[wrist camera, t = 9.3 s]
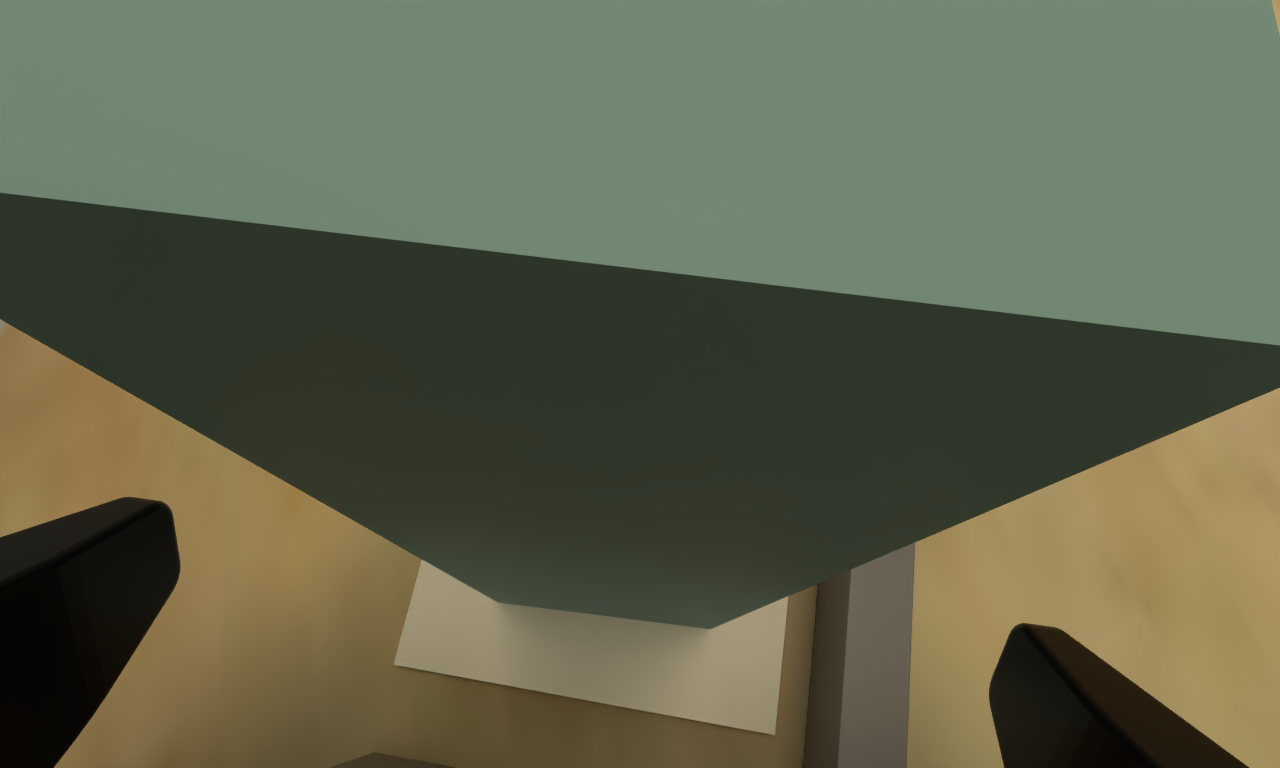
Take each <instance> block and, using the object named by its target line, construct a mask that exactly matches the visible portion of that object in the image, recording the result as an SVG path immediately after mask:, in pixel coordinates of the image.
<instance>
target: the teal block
mask: <svg viewBox="0 0 1280 768" xmlns="http://www.w3.org/2000/svg"><path fill="white" fill-rule="evenodd" d="M0 319H1V320H3V321H4V322H6V323H8V324H10V325H11V326H13V327H15V328H17V329H18V330H20V331H22V332H24V333H25V334H27V335H29V336H31V337H33V338H34V339H36V340H38V341H40V342H41V343H43V344H45V345H47V346H48V347H50V348H52V349H54V350H55V351H57V352H59V353H61V354H62V355H64V356H66V357H68V358H69V359H71V360H73V361H75V362H76V363H78V364H80V365H82V366H83V367H85V368H87V369H89V370H90V371H92V372H94V373H96V374H97V375H99V376H101V377H103V378H104V379H106V380H108V381H110V382H111V383H113V384H115V385H117V386H119V387H120V388H122V389H124V390H126V391H127V392H129V393H131V394H133V395H134V396H136V397H138V398H140V399H141V400H143V401H145V402H147V403H148V404H150V405H152V406H154V407H155V408H157V409H159V410H161V411H162V412H164V413H166V414H168V415H169V416H171V417H173V418H175V419H176V420H178V421H180V422H182V423H183V424H185V425H187V426H189V427H190V428H192V429H194V430H196V431H197V432H199V433H201V434H203V435H204V436H206V437H208V438H210V439H212V440H213V441H215V442H217V443H219V444H220V445H222V446H224V447H226V448H227V449H229V450H231V451H233V452H234V453H236V454H238V455H240V456H241V457H243V458H245V459H247V460H248V461H250V462H252V463H254V464H255V465H257V466H259V467H261V468H262V469H264V470H266V471H268V472H269V473H271V474H273V475H275V476H276V477H278V478H280V479H282V480H283V481H285V482H287V483H289V484H290V485H292V486H294V487H296V488H298V489H299V490H301V491H303V492H305V493H306V494H308V495H310V496H312V497H313V498H315V499H317V500H319V501H320V502H322V503H324V504H326V505H327V506H329V507H331V508H333V509H334V510H336V511H338V512H340V513H341V514H343V515H345V516H347V517H348V518H350V519H352V520H354V521H355V522H357V523H359V524H361V525H362V526H364V527H366V528H368V529H369V530H371V531H373V532H375V533H376V534H378V535H380V536H382V537H384V538H385V539H387V540H389V541H391V542H392V543H394V544H396V545H398V546H399V547H401V548H403V549H405V550H406V551H408V552H410V553H412V554H413V555H415V556H417V557H419V558H420V559H422V560H424V561H426V562H427V563H429V564H431V565H433V566H434V567H436V568H438V569H440V570H441V571H443V572H445V573H447V574H448V575H450V576H452V577H454V578H455V579H457V580H459V581H461V582H462V583H464V584H466V585H468V586H470V587H471V588H473V589H475V590H477V591H478V592H480V593H482V594H484V595H485V596H487V597H489V598H491V599H492V600H494V601H496V602H498V603H506V604H514V605H522V606H530V607H538V608H546V609H554V610H562V611H570V612H578V613H586V614H594V615H602V616H610V617H618V618H626V619H634V620H642V621H649V622H657V623H665V624H673V625H681V626H689V627H697V628H705V629H712V628H714V627H717V626H719V625H722V624H724V623H726V622H729V621H731V620H733V619H736V618H738V617H740V616H743V615H745V614H747V613H750V612H752V611H755V610H757V609H759V608H762V607H764V606H766V605H769V604H771V603H773V602H776V601H778V600H780V599H783V598H785V597H787V596H790V595H792V594H795V593H797V592H799V591H802V590H804V589H806V588H809V587H811V586H813V585H816V584H818V583H820V582H823V581H825V580H828V579H830V578H832V577H835V576H837V575H839V574H842V573H844V572H846V571H849V570H851V569H853V568H856V567H858V566H860V565H863V564H865V563H868V562H870V561H872V560H875V559H877V558H879V557H882V556H884V555H886V554H889V553H891V552H893V551H896V550H898V549H901V548H903V547H905V546H908V545H910V544H912V543H915V542H917V541H919V540H922V539H924V538H926V537H929V536H931V535H933V534H936V533H938V532H941V531H943V530H945V529H948V528H950V527H952V526H955V525H957V524H959V523H962V522H964V521H966V520H969V519H971V518H974V517H976V516H978V515H981V514H983V513H985V512H988V511H990V510H992V509H995V508H997V507H999V506H1002V505H1004V504H1006V503H1009V502H1011V501H1014V500H1016V499H1018V498H1021V497H1023V496H1025V495H1028V494H1030V493H1032V492H1035V491H1037V490H1039V489H1042V488H1044V487H1047V486H1049V485H1051V484H1054V483H1056V482H1058V481H1061V480H1063V479H1065V478H1068V477H1070V476H1072V475H1075V474H1077V473H1079V472H1082V471H1084V470H1087V469H1089V468H1091V467H1094V466H1096V465H1098V464H1101V463H1103V462H1105V461H1108V460H1110V459H1112V458H1115V457H1117V456H1120V455H1122V454H1124V453H1127V452H1129V451H1131V450H1134V449H1136V448H1138V447H1141V446H1143V445H1145V444H1148V443H1150V442H1152V441H1155V440H1157V439H1160V438H1162V437H1164V436H1167V435H1169V434H1171V433H1174V432H1176V431H1178V430H1181V429H1183V428H1185V427H1188V426H1190V425H1193V424H1195V423H1197V422H1200V421H1202V420H1204V419H1207V418H1209V417H1211V416H1214V415H1216V414H1218V413H1221V412H1223V411H1225V410H1228V409H1230V408H1233V407H1235V406H1237V405H1240V404H1242V403H1244V402H1247V401H1249V400H1251V399H1254V398H1256V397H1258V396H1261V395H1263V394H1266V393H1268V392H1270V391H1273V390H1275V389H1277V388H1280V35H1279V31H1278V27H1277V23H1276V19H1275V15H1274V11H1273V6H1272V2H1271V0H0Z"/></svg>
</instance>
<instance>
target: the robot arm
mask: <svg viewBox="0 0 1280 768" xmlns="http://www.w3.org/2000/svg"><path fill="white" fill-rule="evenodd" d="M179 574H180V558H179V551H178V545H177V538H176V532H175V526H174V519H173V514H172V511H171V509H170V508H169V506H168V505H167V504H165V503H164V502H161V501H156V500H149V499H142V498H135V497H124V498H120V499H116V500H113V501H110V502H107V503H104V504H101V505H98V506H95V507H92V508H89V509H86V510H83V511H80V512H77V513H74V514H71V515H67V516H64V517H61V518H58V519H55V520H52V521H49V522H46V523H43V524H40V525H37V526H34V527H31V528H28V529H25V530H22V531H19V532H15V533H12V534H9V535H6V536H3V537H0V768H54V767H55V765H56V764H57V763H58V761H59V760H60V759H61V758H62V756H63V755H64V754H65V752H66V751H67V750H68V748H69V747H70V746H71V745H72V743H73V742H74V741H75V739H76V738H77V737H78V735H79V734H80V733H81V731H82V730H83V729H84V727H85V726H86V725H87V723H88V722H89V720H90V719H91V718H92V716H93V715H94V713H95V712H96V710H97V709H98V707H99V706H100V704H101V703H102V702H103V700H104V699H105V697H106V696H107V694H108V693H109V691H110V689H111V688H112V686H113V685H114V683H115V682H116V680H117V678H118V677H119V675H120V674H121V672H122V670H123V669H124V667H125V666H126V664H127V663H128V661H129V659H130V658H131V656H132V655H133V653H134V652H135V650H136V648H137V647H138V645H139V644H140V642H141V640H142V639H143V637H144V636H145V634H146V633H147V631H148V629H149V628H150V626H151V625H152V623H153V622H154V620H155V618H156V617H157V615H158V614H159V612H160V610H161V609H162V607H163V606H164V604H165V603H166V601H167V599H168V598H169V596H170V595H171V593H172V592H173V590H174V588H175V586H176V584H177V581H178V578H179ZM989 702H990V708H991V712H992V716H993V721H994V725H995V729H996V734H997V738H998V742H999V746H1000V751H1001V755H1002V759H1003V764H1004V768H1249V767H1248V766H1246V765H1245V764H1244V763H1242V762H1241V761H1239V760H1238V759H1237V758H1235V757H1234V756H1233V755H1231V754H1230V753H1229V752H1227V751H1226V750H1225V749H1223V748H1222V747H1220V746H1219V745H1218V744H1216V743H1215V742H1214V741H1212V740H1211V739H1210V738H1208V737H1207V736H1205V735H1204V734H1203V733H1201V732H1200V731H1199V730H1197V729H1196V728H1195V727H1193V726H1192V725H1191V724H1189V723H1188V722H1186V721H1185V720H1184V719H1182V718H1181V717H1180V716H1178V715H1177V714H1176V713H1174V712H1173V711H1172V710H1170V709H1169V708H1167V707H1166V706H1165V705H1163V704H1162V703H1161V702H1159V701H1158V700H1157V699H1155V698H1154V697H1152V696H1151V695H1150V694H1148V693H1147V692H1146V691H1144V690H1143V689H1142V688H1140V687H1139V686H1138V685H1136V684H1135V683H1133V682H1132V681H1131V680H1129V679H1128V678H1127V677H1125V676H1124V675H1123V674H1121V673H1120V672H1118V671H1117V670H1116V669H1114V668H1113V667H1112V666H1110V665H1109V664H1108V663H1106V662H1105V661H1104V660H1102V659H1101V658H1099V657H1098V656H1097V655H1095V654H1094V653H1093V652H1091V651H1090V650H1089V649H1087V648H1086V647H1085V646H1083V645H1082V644H1080V643H1079V642H1078V641H1076V640H1075V639H1074V638H1072V637H1071V636H1070V635H1068V634H1067V633H1065V632H1064V631H1062V630H1061V629H1058V628H1055V627H1049V626H1042V625H1035V624H1028V623H1021V624H1018V625H1016V626H1015V627H1014V628H1013V629H1012V630H1011V632H1010V634H1009V636H1008V639H1007V641H1006V644H1005V646H1004V649H1003V651H1002V654H1001V656H1000V659H999V661H998V664H997V666H996V669H995V671H994V674H993V676H992V679H991V682H990V688H989Z"/></svg>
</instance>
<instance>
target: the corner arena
mask: <svg viewBox="0 0 1280 768" xmlns="http://www.w3.org/2000/svg"><path fill="white" fill-rule="evenodd" d="M914 558H915V543H912V544H910V545H908V546H905V547H903V548H901V549H898V550H896V551H893V552H891V553H889V554H886V555H884V556H882V557H879V558H877V559H875V560H872V561H870V562H868V563H865V564H863V565H860V566H858V567H856V568H853V569H851V570H849V571H846V572H844V573H842V574H839V575H837V576H835V577H832V578H830V579H828V580H825V581H823V582H820V583H818V595H817V607H816V619H815V631H814V643H813V655H812V667H811V679H810V691H809V703H808V715H807V727H806V739H805V751H804V763H803V768H906V762H907V736H908V711H909V685H910V660H911V634H912V609H913V583H914ZM787 605H788V596H787V597H785V598H783V599H780V600H778V601H776V602H773V603H771V604H769V605H766V606H764V607H762V608H759V609H757V610H755V611H752V612H750V613H747V614H745V615H743V616H740V617H738V618H736V619H733V620H731V621H729V622H726V623H724V624H722V625H719V626H717V627H714V628H712V629H705V628H697V627H689V626H681V625H673V624H665V623H657V622H649V621H642V620H634V619H626V618H618V617H610V616H602V615H594V614H586V613H578V612H570V611H562V610H554V609H546V608H538V607H530V606H522V605H514V604H506V603H498V602H496V601H494V600H492V599H491V598H489V597H487V596H485V595H484V594H482V593H480V592H478V591H477V590H475V589H473V588H471V587H470V586H468V585H466V584H464V583H462V582H461V581H459V580H457V579H455V578H454V577H452V576H450V575H448V574H447V573H445V572H443V571H441V570H440V569H438V568H436V567H434V566H433V565H431V564H429V563H427V562H426V561H424V560H422V561H421V565H420V568H419V572H418V576H417V579H416V583H415V587H414V590H413V594H412V598H411V602H410V605H409V609H408V613H407V616H406V620H405V624H404V627H403V631H402V635H401V638H400V642H399V646H398V650H397V653H396V657H395V661H394V664H393V665H399V666H404V667H409V668H415V669H420V670H426V671H431V672H436V673H442V674H447V675H453V676H458V677H463V678H469V679H474V680H480V681H485V682H490V683H496V684H501V685H507V686H512V687H517V688H523V689H528V690H534V691H539V692H545V693H550V694H555V695H561V696H566V697H572V698H577V699H582V700H588V701H593V702H599V703H604V704H609V705H615V706H620V707H626V708H631V709H636V710H642V711H647V712H653V713H658V714H663V715H669V716H674V717H680V718H685V719H691V720H696V721H701V722H707V723H712V724H718V725H723V726H728V727H734V728H739V729H745V730H750V731H755V732H761V733H766V734H772V735H775V729H776V718H777V708H778V698H779V687H780V677H781V667H782V656H783V646H784V636H785V625H786V615H787ZM330 768H453V767H448V766H442V765H437V764H432V763H427V762H421V761H416V760H411V759H405V758H400V757H395V756H390V755H384V754H379V753H371V754H368V755H365V756H362V757H359V758H356V759H353V760H350V761H348V762H345V763H342V764H339V765H336V766H333V767H330Z"/></svg>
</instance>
